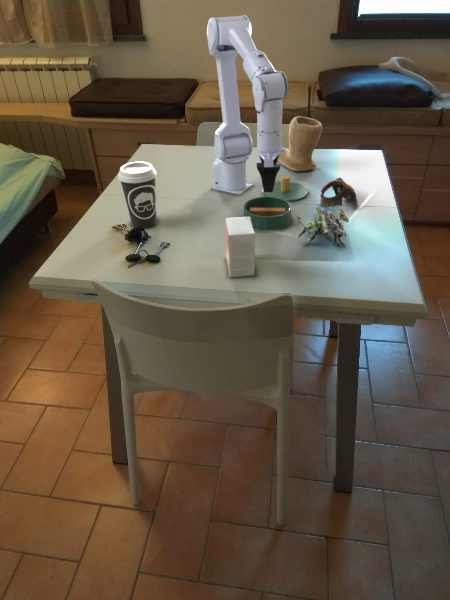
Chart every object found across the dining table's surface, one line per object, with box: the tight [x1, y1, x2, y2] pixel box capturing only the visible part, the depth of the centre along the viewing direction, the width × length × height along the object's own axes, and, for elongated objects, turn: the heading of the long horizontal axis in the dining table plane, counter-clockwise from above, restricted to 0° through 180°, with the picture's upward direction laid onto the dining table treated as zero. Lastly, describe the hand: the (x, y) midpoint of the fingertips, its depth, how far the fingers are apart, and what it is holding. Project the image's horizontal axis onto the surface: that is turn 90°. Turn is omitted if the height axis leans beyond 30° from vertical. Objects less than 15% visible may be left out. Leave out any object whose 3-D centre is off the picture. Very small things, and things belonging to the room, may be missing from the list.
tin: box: [242, 196, 293, 231], centre depth 124 cm, size 12×12×4 cm
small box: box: [224, 216, 256, 278], centre depth 104 cm, size 8×6×10 cm
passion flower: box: [296, 204, 350, 248], centre depth 112 cm, size 11×11×12 cm
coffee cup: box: [117, 161, 158, 229], centre depth 122 cm, size 10×10×15 cm
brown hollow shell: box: [319, 177, 358, 208], centre depth 129 cm, size 12×10×8 cm
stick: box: [250, 208, 285, 216], centre depth 124 cm, size 9×2×3 cm, turn 85°
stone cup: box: [277, 115, 323, 172], centre depth 151 cm, size 15×12×15 cm
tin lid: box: [261, 175, 309, 203], centre depth 136 cm, size 13×13×5 cm
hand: (268, 185), depth 119 cm, fingers open, 7 cm apart
